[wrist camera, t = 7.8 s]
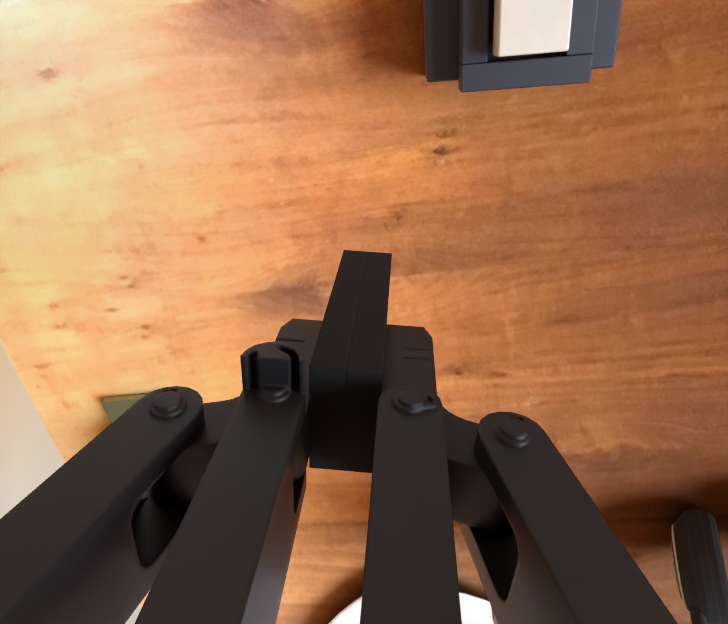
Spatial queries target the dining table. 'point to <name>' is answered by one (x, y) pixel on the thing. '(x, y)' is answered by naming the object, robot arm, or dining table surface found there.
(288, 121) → the dining table surface
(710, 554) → the headphones
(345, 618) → the plate
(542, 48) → the key
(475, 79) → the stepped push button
